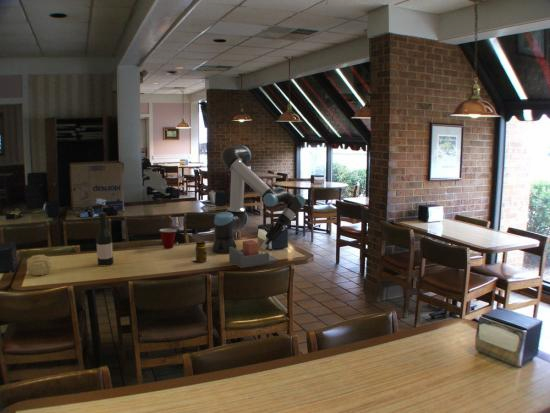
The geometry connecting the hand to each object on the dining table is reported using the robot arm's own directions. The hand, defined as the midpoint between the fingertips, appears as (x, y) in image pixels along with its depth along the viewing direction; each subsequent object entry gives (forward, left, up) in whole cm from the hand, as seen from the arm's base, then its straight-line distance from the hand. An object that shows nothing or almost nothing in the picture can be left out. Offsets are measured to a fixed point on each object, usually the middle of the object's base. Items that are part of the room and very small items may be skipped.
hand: (261, 248), depth 281 cm
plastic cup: (-54, -38, -8) cm, 67 cm away
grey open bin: (0, -5, -7) cm, 9 cm away
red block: (0, -7, -6) cm, 9 cm away
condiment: (-16, -32, -8) cm, 37 cm away
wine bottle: (-39, -80, -8) cm, 90 cm away
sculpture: (-39, -114, -8) cm, 121 cm away
